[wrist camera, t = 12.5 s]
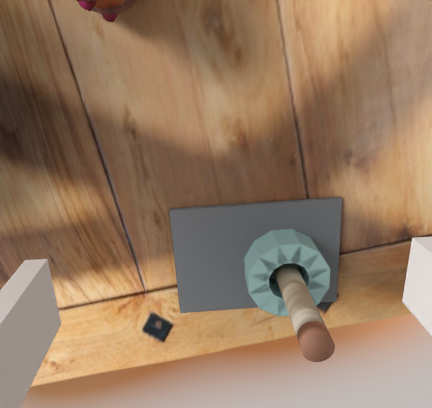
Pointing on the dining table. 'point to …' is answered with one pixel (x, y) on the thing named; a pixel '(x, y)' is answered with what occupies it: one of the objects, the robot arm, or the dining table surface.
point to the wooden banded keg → (107, 7)
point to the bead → (278, 255)
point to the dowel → (304, 314)
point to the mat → (244, 246)
